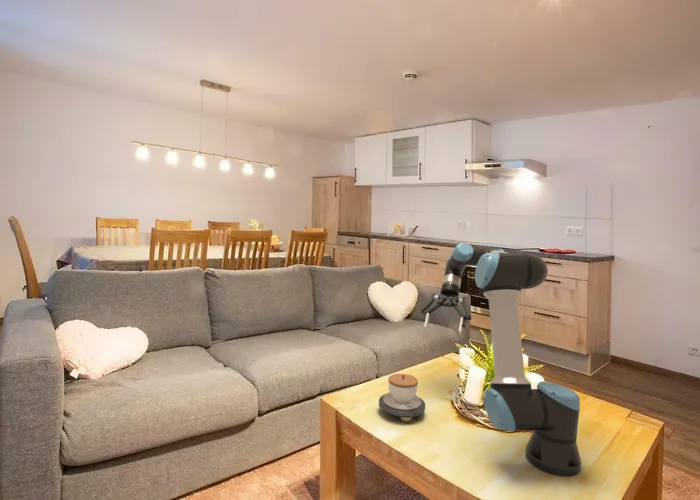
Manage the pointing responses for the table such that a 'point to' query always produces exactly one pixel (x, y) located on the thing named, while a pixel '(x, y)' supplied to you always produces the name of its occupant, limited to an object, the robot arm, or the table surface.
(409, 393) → the lidded jar
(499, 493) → the table surface
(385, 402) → the base
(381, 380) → the table surface
